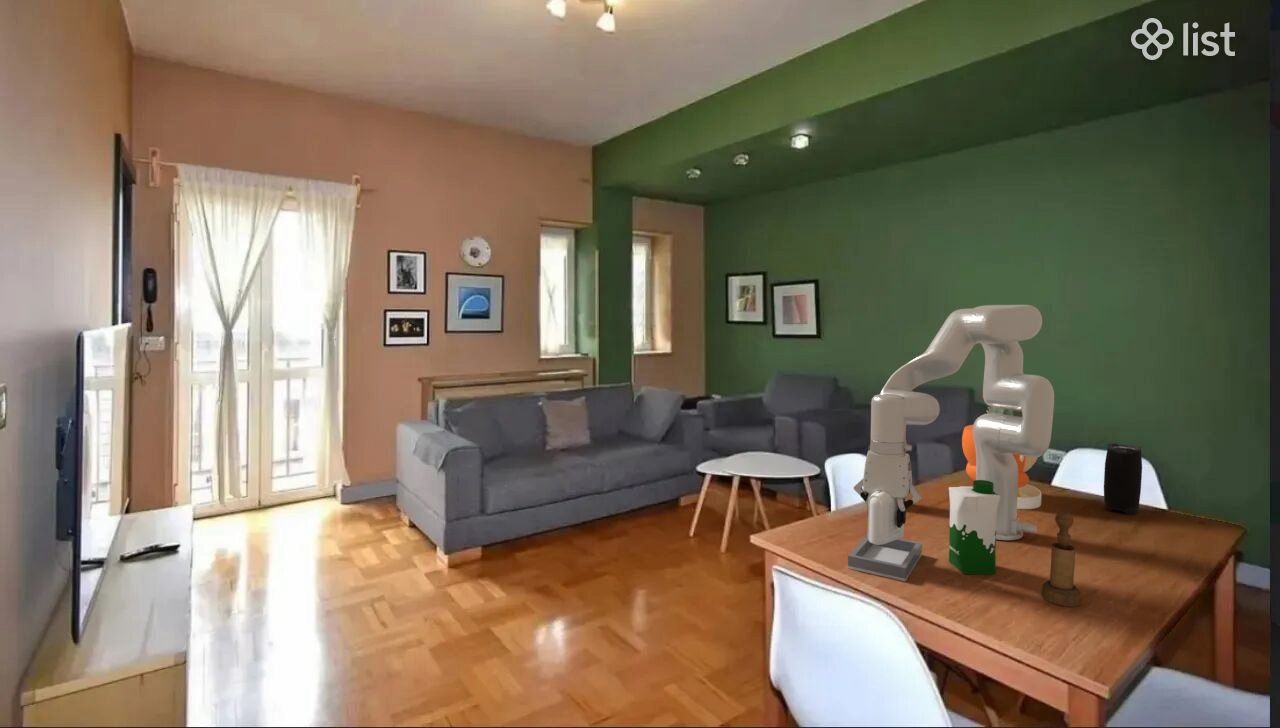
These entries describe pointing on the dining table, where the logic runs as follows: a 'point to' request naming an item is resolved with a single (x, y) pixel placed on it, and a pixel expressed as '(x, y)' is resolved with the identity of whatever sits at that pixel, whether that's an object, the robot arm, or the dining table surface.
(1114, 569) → the dining table surface
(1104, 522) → the dining table surface
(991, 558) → the milk carton
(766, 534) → the dining table surface
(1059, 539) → the mortar and pestle
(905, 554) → the tray
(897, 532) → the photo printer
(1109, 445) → the portable speaker
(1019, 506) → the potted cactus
